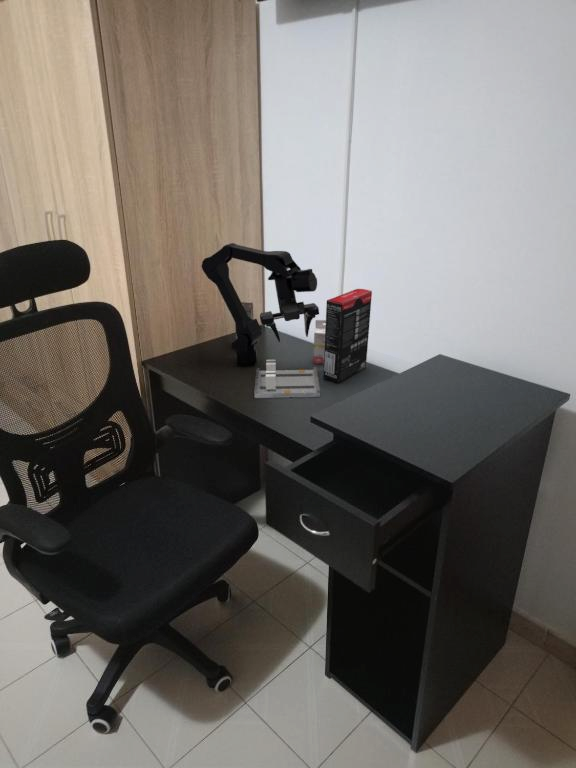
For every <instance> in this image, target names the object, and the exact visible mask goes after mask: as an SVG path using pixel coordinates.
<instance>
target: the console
mask: <svg viewBox="0 0 576 768" xmlns="http://www.w3.org/2000/svg"><path fill="white" fill-rule="evenodd" d="M312 368H313V369H291V370H290V369H285V370H284V369H283V370H281V369H276V389H267V390H266V370H260V367H256V368H255V378H254V379H255V380H254V390H253V391H254V392H253V393H254V399H276V398H277V399H279V398H282V399H283V398H284V399H285V398H288V399H289V397H293V398H321V397H320V395H321V388H320V382H319V376H318V375H319V374H318V368H317V366H313V367H312Z"/></svg>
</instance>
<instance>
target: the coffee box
mask: <svg viewBox="0 0 576 768" xmlns="http://www.w3.org/2000/svg"><path fill="white" fill-rule="evenodd" d="M241 303H242V305H243V307H244V309H245V311H246V313H247V315H248V316H249V317H250V318H251V319H252V320H254V319H255V318H254V302H246V301H241ZM234 327H235V330H236V324H235V323H234ZM236 339H237V335H236V334H235V340H236Z"/></svg>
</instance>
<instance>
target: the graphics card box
mask: <svg viewBox="0 0 576 768" xmlns="http://www.w3.org/2000/svg"><path fill="white" fill-rule="evenodd" d="M372 292H373V290H371V289H365V288H356V289H353V290H350V291H348V292H346V293H343V294H340V295H336V296H334V297H332V298H329V299H327V300H326V307H325V308H326V310H325V320H326V323H325V325H326V328H325V351H324V364H323V376H322V377H323V378H324V379H326V380H329V381H332V382H335V383H338V384H339V383H340V382H343V381H344V380H346V379H348V378H349V377H351V376H353V375H355V374H357V373H359V372H361V371H362V370H365V369H366V368H367V358H368V347H369V346H368V345H369V344H368V343H369V332H370V321H371V310H372V295H373V293H372Z"/></svg>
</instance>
